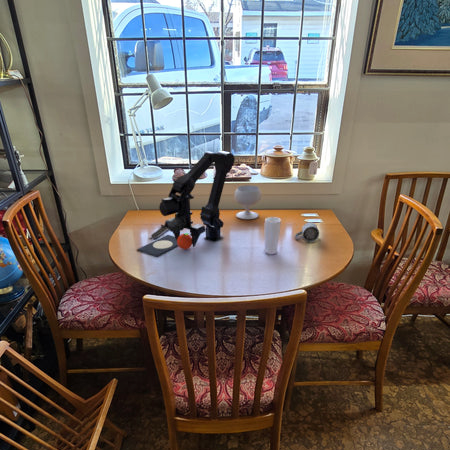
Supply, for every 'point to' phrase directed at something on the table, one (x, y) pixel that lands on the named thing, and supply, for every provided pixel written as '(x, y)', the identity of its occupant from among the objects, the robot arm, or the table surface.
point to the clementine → (184, 241)
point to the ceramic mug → (308, 232)
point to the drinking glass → (272, 234)
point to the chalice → (247, 200)
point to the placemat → (160, 246)
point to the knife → (159, 231)
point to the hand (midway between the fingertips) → (186, 244)
